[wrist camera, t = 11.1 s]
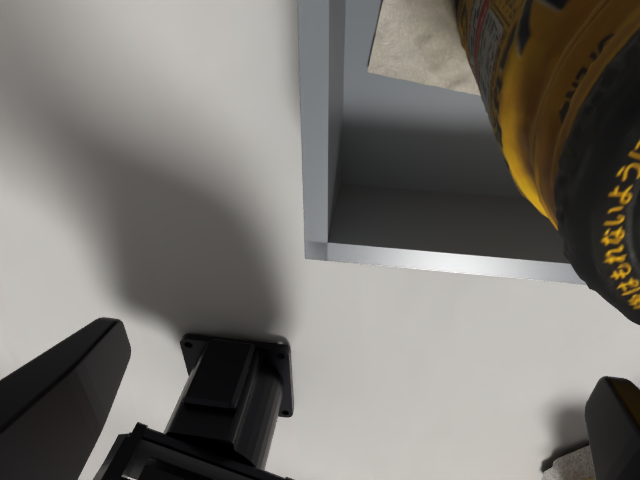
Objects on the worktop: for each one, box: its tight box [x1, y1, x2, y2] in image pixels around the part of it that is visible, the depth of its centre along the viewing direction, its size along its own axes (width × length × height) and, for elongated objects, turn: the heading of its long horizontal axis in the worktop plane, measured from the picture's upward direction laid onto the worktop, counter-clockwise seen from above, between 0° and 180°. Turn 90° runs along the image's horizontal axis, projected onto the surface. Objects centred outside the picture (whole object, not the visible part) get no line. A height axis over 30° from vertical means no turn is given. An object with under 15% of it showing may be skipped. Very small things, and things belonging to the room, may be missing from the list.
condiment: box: [367, 0, 640, 325], centre depth 9 cm, size 7×8×12 cm
